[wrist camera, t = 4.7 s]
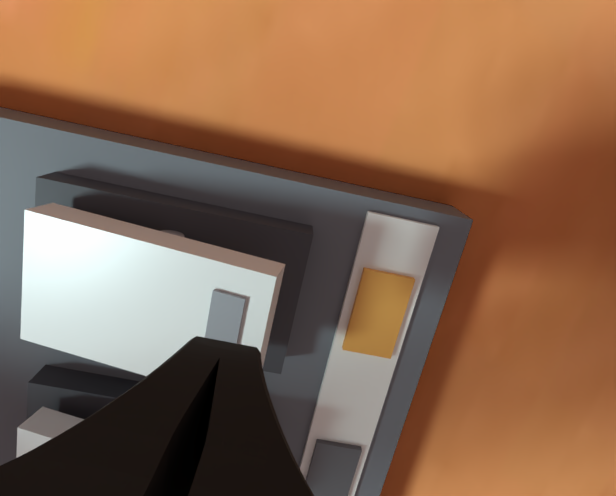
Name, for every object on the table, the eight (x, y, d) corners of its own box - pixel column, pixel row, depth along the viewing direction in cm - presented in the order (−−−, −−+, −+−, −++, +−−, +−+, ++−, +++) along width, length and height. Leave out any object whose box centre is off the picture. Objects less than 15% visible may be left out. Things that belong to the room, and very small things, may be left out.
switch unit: (-51, 557, 20) (-126, 654, 16) (-62, 93, 14) (-182, 89, 11) (321, 610, 21) (325, 710, 18) (452, 205, 16) (496, 235, 12)
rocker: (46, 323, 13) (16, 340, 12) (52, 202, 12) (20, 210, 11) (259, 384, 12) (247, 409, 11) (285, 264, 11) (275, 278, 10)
